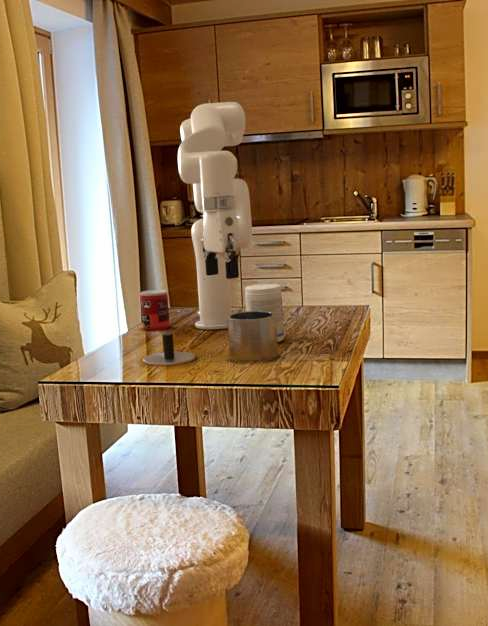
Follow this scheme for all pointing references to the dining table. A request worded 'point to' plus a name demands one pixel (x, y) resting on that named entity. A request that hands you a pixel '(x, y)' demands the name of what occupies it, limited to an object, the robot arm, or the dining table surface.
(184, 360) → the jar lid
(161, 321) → the canned food
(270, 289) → the supplement tub
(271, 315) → the steel jar
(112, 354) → the dining table surface
